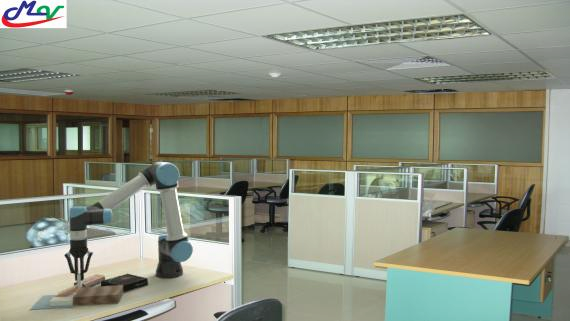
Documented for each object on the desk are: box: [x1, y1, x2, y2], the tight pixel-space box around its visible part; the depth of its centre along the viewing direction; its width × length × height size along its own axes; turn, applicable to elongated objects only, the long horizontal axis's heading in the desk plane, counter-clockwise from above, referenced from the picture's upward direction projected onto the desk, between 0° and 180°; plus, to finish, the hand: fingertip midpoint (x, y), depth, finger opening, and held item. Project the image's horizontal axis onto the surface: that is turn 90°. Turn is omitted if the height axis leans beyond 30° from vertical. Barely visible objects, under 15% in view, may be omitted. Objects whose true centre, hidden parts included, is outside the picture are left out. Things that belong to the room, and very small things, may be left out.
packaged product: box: [73, 274, 106, 288], centre depth 255 cm, size 18×5×10 cm
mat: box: [29, 293, 76, 311], centre depth 232 cm, size 18×20×1 cm
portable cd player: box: [101, 273, 149, 294], centre depth 256 cm, size 16×17×4 cm
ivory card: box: [50, 296, 74, 306], centre depth 228 cm, size 10×6×2 cm, turn 99°
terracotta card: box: [55, 285, 80, 297], centre depth 236 cm, size 10×6×2 cm, turn 101°
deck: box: [73, 285, 124, 307], centre depth 235 cm, size 20×15×4 cm
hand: (79, 287), depth 237 cm, fingers closed
